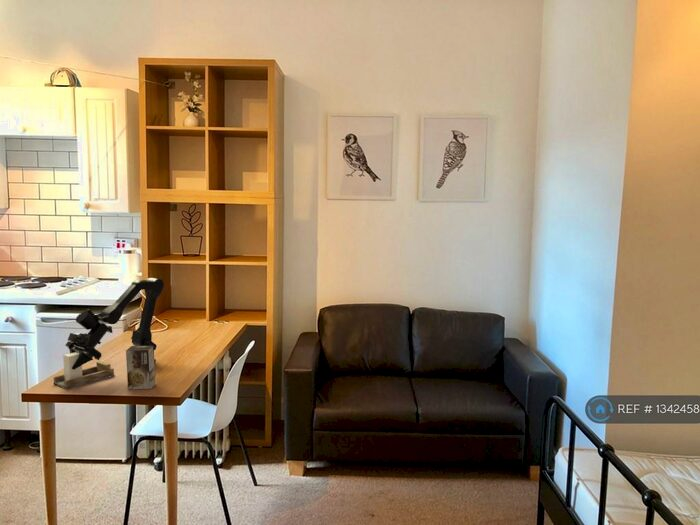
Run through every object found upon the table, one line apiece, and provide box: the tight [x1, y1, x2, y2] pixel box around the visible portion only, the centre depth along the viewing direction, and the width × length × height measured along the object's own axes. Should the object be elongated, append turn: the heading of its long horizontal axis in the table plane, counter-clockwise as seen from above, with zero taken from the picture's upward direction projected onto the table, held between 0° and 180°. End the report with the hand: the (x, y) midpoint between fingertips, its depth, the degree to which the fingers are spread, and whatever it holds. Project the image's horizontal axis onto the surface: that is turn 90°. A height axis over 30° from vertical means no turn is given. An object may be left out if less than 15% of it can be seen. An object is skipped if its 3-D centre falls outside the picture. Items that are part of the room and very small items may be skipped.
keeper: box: [62, 352, 83, 381], centre depth 208 cm, size 5×4×11 cm
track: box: [53, 360, 115, 390], centre depth 212 cm, size 20×10×5 cm, turn 146°
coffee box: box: [125, 345, 156, 390], centre depth 204 cm, size 9×6×16 cm
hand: (69, 368), depth 207 cm, fingers closed on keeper, 4 cm apart
